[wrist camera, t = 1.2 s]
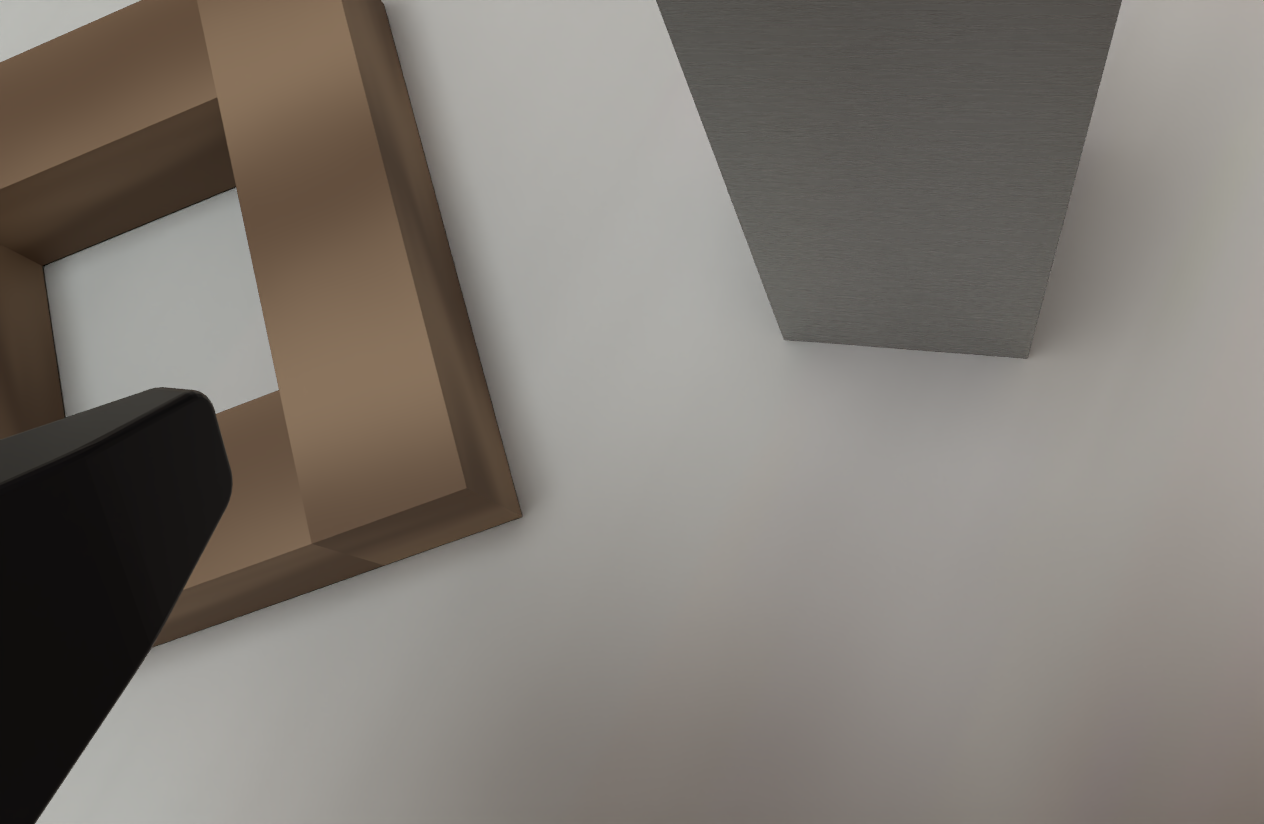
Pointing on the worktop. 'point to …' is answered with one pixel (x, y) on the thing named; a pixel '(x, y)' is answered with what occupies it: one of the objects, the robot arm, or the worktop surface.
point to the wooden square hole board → (266, 274)
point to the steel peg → (898, 156)
